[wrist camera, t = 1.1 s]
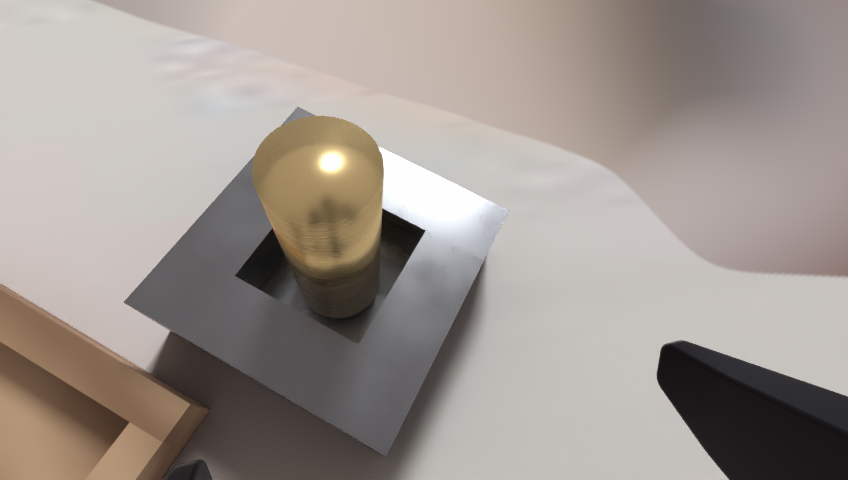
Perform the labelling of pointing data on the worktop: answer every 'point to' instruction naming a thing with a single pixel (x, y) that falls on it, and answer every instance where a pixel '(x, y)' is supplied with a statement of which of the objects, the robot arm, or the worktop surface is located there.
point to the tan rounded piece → (325, 209)
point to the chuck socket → (312, 332)
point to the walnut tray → (81, 405)
